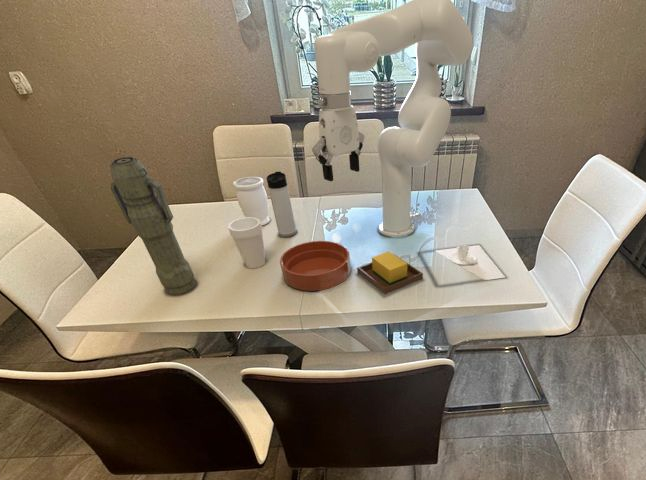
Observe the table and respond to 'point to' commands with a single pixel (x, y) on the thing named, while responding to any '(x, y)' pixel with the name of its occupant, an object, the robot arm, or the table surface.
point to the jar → (252, 198)
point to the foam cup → (249, 240)
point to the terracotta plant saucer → (315, 265)
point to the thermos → (151, 223)
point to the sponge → (389, 268)
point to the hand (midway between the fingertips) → (342, 175)
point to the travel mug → (281, 204)
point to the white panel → (473, 261)
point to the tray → (382, 286)
